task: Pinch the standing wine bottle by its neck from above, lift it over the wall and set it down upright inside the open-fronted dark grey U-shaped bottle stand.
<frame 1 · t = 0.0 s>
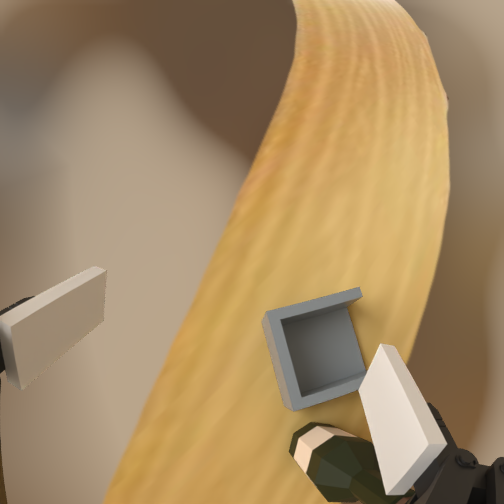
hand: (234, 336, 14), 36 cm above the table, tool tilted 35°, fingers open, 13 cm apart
wine bottle: (314, 445, 43), on the table
bottle stand: (315, 352, 48), on the table
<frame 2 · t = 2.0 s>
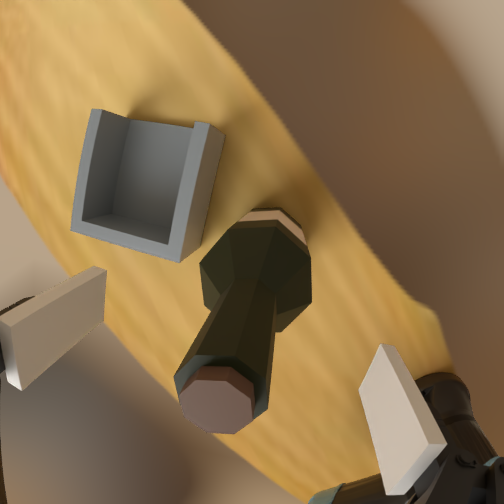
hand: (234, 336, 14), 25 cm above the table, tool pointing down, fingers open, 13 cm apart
wine bottle: (268, 239, 39), on the table
bottle stand: (159, 179, 38), on the table
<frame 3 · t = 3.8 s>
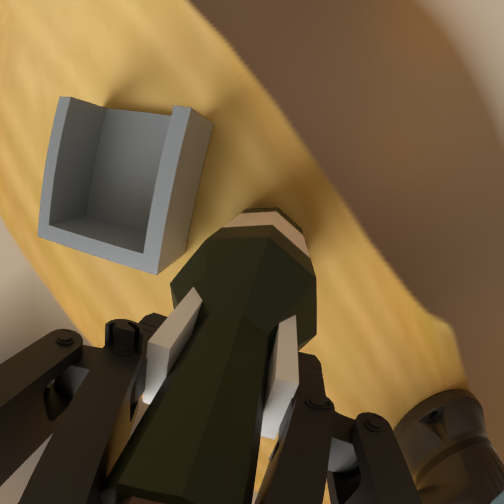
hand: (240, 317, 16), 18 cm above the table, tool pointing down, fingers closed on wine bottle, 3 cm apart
wine bottle: (264, 245, 33), on the table, touching gripper
bottle stand: (138, 176, 33), on the table
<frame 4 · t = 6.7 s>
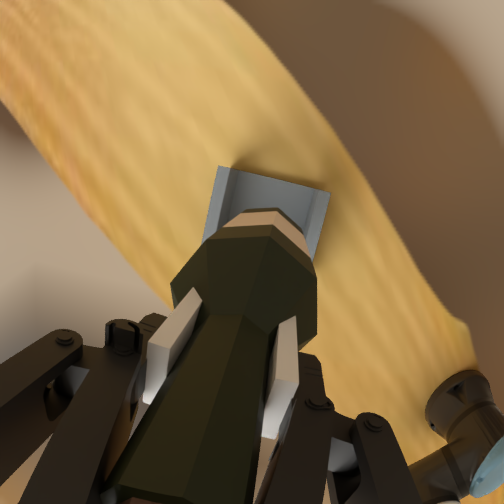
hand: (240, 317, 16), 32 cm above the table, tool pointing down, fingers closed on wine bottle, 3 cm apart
wine bottle: (264, 245, 33), point 14 cm above the table, touching gripper
bottle stand: (265, 225, 47), on the table
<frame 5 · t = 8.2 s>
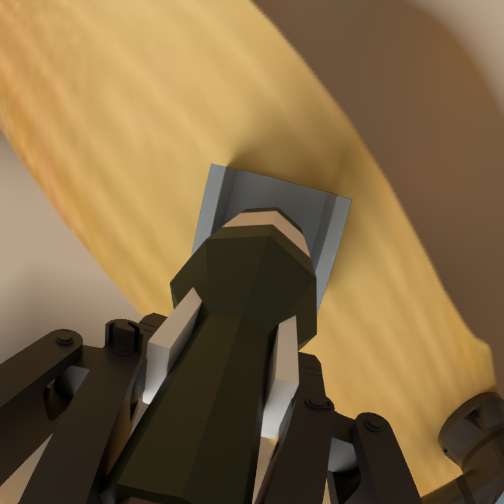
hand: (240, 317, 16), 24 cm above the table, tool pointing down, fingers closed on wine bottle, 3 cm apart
wine bottle: (264, 245, 33), point 6 cm above the table, touching gripper
bottle stand: (268, 236, 39), on the table
when the fingers open (20 cm above the table, at t = 9.6 s): wine bottle drops 1 cm, resting on bottle stand.
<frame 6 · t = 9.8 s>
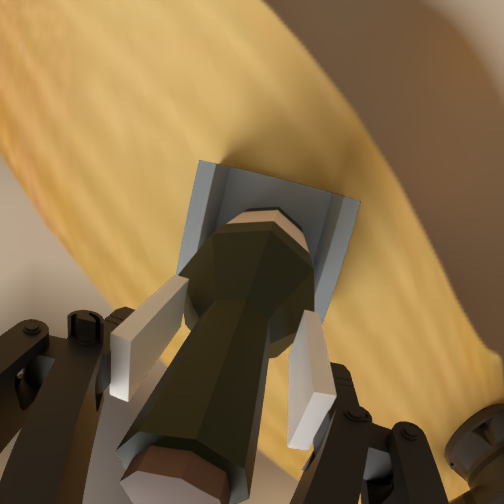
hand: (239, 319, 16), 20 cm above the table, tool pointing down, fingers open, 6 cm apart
wine bottle: (265, 243, 35), point 1 cm above the table, touching bottle stand
bottle stand: (265, 241, 35), on the table
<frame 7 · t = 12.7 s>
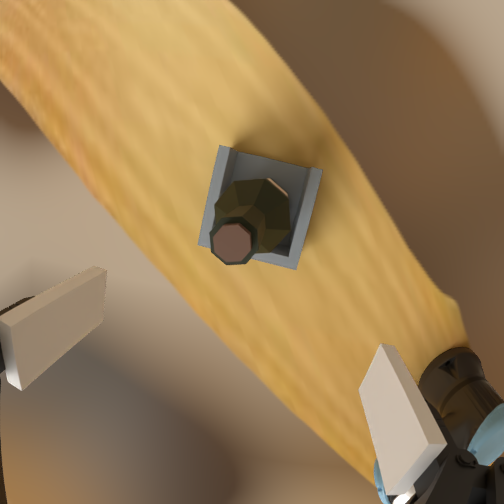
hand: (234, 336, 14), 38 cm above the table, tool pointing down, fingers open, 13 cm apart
wine bottle: (262, 203, 49), point 1 cm above the table, touching bottle stand
bottle stand: (262, 202, 50), on the table
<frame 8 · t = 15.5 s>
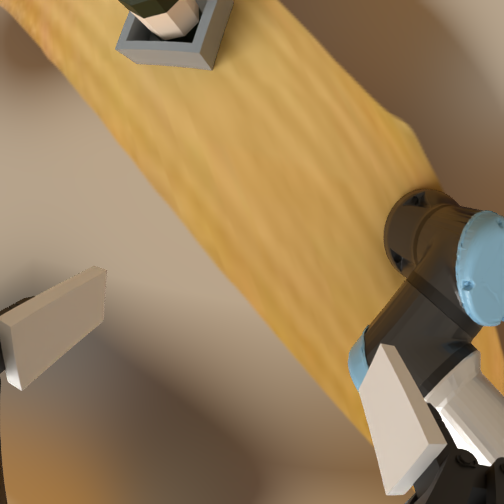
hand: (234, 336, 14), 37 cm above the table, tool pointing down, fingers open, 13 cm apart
wine bottle: (183, 29, 43), point 1 cm above the table, touching bottle stand
bottle stand: (184, 31, 43), on the table
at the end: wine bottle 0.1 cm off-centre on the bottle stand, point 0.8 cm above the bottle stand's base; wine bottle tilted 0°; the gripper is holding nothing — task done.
